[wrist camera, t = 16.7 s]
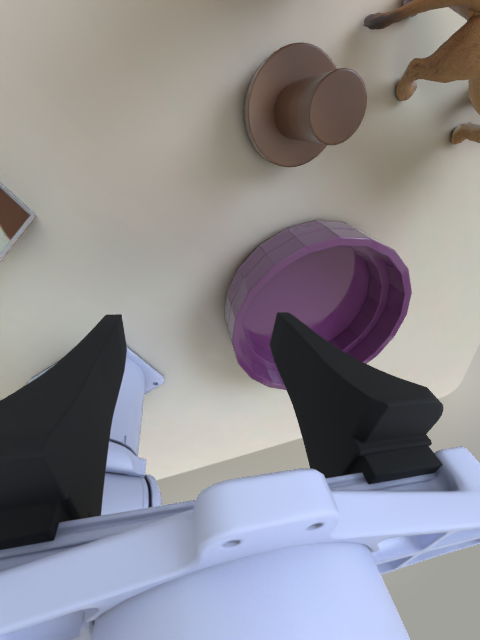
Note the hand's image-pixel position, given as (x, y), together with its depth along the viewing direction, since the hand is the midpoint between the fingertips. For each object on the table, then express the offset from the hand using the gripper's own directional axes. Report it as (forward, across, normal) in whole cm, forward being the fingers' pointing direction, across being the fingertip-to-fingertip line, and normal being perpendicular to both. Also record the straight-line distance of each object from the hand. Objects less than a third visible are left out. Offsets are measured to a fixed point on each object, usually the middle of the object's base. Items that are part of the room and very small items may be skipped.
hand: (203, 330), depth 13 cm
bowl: (+10, -11, +5) cm, 16 cm away
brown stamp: (+10, -6, -9) cm, 15 cm away
